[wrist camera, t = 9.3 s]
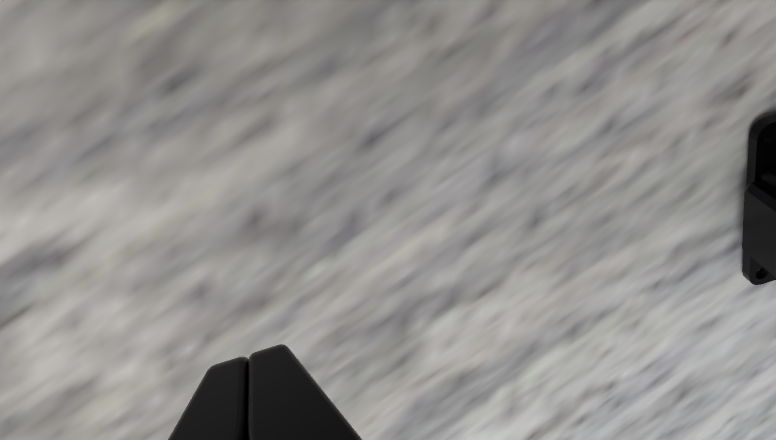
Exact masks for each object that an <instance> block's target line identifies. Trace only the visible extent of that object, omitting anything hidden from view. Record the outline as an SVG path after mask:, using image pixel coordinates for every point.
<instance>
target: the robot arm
mask: <svg viewBox="0 0 776 440" xmlns="http://www.w3.org/2000/svg"><path fill="white" fill-rule="evenodd" d="M770 130H771V131H770ZM768 131H770V134H769V135H768V136H767V137H766V138H764V137H765V135H766V134H767V132H768ZM742 248H743V268H742V272H743V276H744V277H745V278H746V279H748V280H749V281H750V282H751V283H752V284H755V285H760V284H764V283H767V282H770V281H773V280H776V115H772V116H769V117H766V118H763V119H761V120H759V121H758V122H757V123H756V124H755V125H754V126H753V127H752V129H751V131H750V135H749V148H748V168H747V188H746V191H745V201H744V222H743V242H742ZM759 269H760V270H759ZM758 270H759V271H758ZM168 440H362V439H361V438H360V436H359V435H358V434H357V433H356V431H355V430H354V429H353V428H352V426H351V425H350V424H349V423H348V421H347V420H346V419H345V418H344V416H343V415H342V414H341V413H340V411H339V410H338V409H337V408H336V406H335V405H334V404H333V403H332V401H331V400H330V399H329V398H328V397H327V395H326V394H325V393H324V392H323V390H322V389H321V388H320V387H319V385H318V384H317V383H316V382H315V380H314V379H313V378H312V377H311V375H310V374H309V373H308V372H307V370H306V369H305V368H304V367H303V365H302V364H301V363H300V362H299V360H298V359H297V358H296V357H295V355H294V354H293V353H292V352H291V350H290V349H289V348H288V347H287V346H285V345H282V344H281V345H277V346H274V347H270V348H267V349H264V350H261V351H258V352H255V353H253V354H252V355H251V356H250V357H249V359H248V358H246V357H238V358H235V359H232V360H229V361H225V362H222V363H219V364H216V365H214V366H212V367H210V368H209V369H208V371H207V372H206V374H205V376H204V378H203V379H202V381H201V383H200V385H199V386H198V388H197V390H196V392H195V393H194V395H193V397H192V399H191V400H190V402H189V404H188V406H187V407H186V409H185V411H184V413H183V414H182V416H181V418H180V420H179V422H178V423H177V425H176V427H175V429H174V430H173V432H172V434H171V436H170V437H169V439H168Z"/></svg>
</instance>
